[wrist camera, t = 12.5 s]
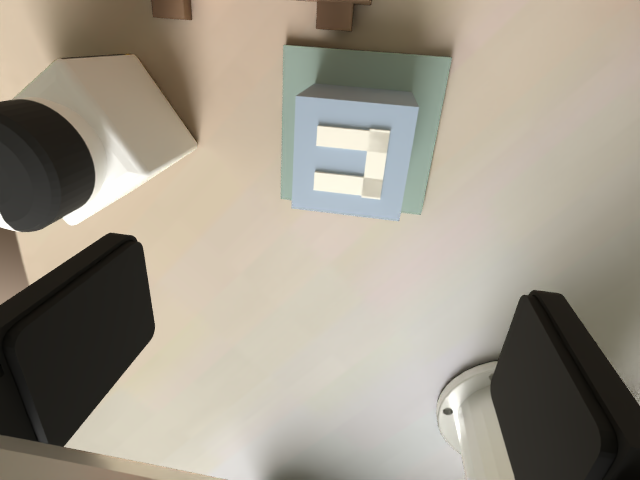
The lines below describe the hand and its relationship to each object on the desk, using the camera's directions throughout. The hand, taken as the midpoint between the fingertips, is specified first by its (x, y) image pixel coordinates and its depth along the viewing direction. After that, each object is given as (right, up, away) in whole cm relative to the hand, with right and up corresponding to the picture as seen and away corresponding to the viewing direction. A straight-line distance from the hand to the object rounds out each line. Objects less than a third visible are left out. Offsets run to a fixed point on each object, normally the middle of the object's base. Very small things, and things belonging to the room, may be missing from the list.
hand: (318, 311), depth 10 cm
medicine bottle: (-13, +10, +19) cm, 25 cm away
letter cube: (+2, +9, +16) cm, 18 cm away
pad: (+3, +9, +16) cm, 19 cm away
